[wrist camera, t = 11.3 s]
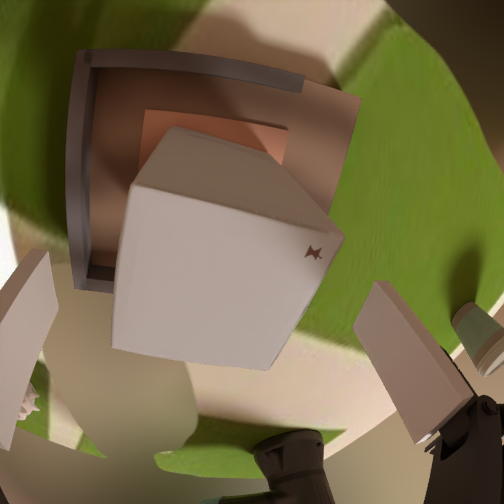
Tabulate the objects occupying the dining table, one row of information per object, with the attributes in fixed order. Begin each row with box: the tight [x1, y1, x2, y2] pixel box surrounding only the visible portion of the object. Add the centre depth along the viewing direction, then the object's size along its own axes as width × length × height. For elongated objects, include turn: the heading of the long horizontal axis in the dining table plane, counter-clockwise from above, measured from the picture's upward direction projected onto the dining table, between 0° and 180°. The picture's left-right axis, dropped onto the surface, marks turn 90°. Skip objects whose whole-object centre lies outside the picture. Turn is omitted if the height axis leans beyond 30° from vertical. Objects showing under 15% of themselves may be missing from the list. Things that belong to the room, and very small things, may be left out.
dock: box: [65, 49, 362, 293], centre depth 22 cm, size 18×20×5 cm
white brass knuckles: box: [17, 382, 40, 420], centre depth 32 cm, size 3×18×15 cm
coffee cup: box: [451, 302, 504, 378], centre depth 37 cm, size 8×8×12 cm
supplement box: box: [111, 126, 345, 371], centre depth 16 cm, size 7×7×13 cm
